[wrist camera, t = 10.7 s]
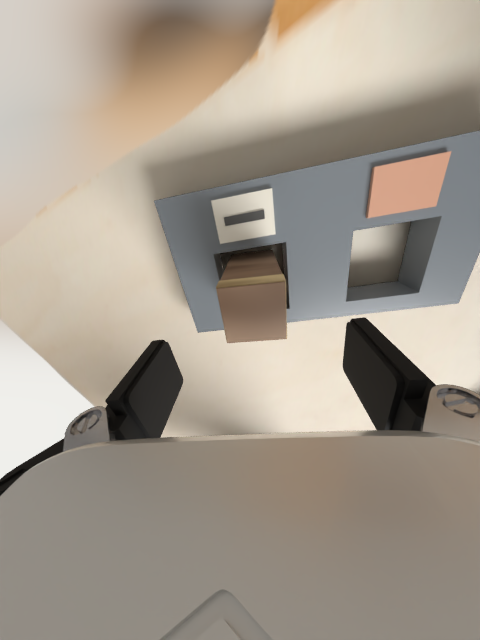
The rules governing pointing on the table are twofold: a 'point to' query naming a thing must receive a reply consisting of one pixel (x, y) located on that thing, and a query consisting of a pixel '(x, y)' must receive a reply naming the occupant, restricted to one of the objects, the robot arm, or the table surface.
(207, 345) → the table surface
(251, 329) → the plug
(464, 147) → the socket block
